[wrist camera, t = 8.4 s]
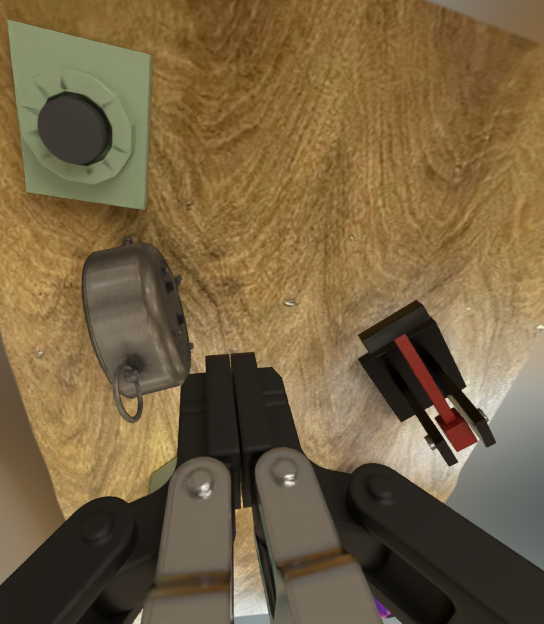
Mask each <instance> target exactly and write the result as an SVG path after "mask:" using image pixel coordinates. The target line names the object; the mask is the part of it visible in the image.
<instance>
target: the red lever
mask: <svg viewBox="0 0 544 624" xmlns="http://www.w3.org/2000/svg"><path fill="white" fill-rule="evenodd" d="M429 319H430V316H429V314H428V313H427V311H426V309H425V307H424V306H423V305H422V304H421V303H420V302H418V301H417V300H415V301H414V302H412V303H410V304H409V305H407V306H405V307H404V308H402V309H400V310H399V311H397V312H395V313H394V314H392V315H390V316H389V317H387V318H385V319H384V320H382V321H380V322H379V323H377V324H375V325H374V326H372V327H370V328H369V329H367V330H365V331H364V332H362V333H360V334H359V335H358V336H359V338H360V340H361V341H362V343H363V344H364V346H365V347H366V349H367V350H368V352H369V354H371V353H373V352H375V351H376V350H378V349H380V348H381V347H383V346H385V345H387V344H388V343H390V342H392V341H393V340H394V342H395V343H396V345H397V347H398V348H399V350H400V351H401V353H402V355H403V356H404V358H405V360H406V361H407V363H408V364H409V366H410V368H411V369H412V371H413V373H414V374H415V376H416V377H417V379H418V381H419V382H420V384H421V385H422V387H423V389H424V390H425V392H426V394H427V395H428V397H429V398H430V400H431V402H432V403H433V405H434V407H435V408H436V410H437V411H438V413H439V415H438V416H436V417H435V420H436V421H437V423H438V425H439V426H440V428H441V429H442V431H443V433H444V434H445V436H446V437H447V439H448V440H449V441H450V443H451V444H452V446H453V447H454V449H455V450H456V451H457V452H458V451H460V450H462V449H464V448H466V447H468V446H470V445H472V444H474V443H476V442H478V441H477V439H476V437H475V435H474V434H473V432H472V430H471V429H470V427H469V425H468V424H467V422H466V421H465V419H464V418H463V417H462V416H461V415H460V413H459V412H458V411H457V410H456V409H455V408H454V407H453V408H451V409H450V407H449V405H448V404H447V402H446V400H445V399H444V397H443V395H442V394H441V392H440V390H439V389H438V387H437V385H436V384H435V382H434V380H433V379H432V377H431V375H430V374H429V372H428V371H427V369H426V367H425V366H424V364H423V362H422V361H421V359H420V357H419V356H418V354H417V352H416V351H415V349H414V347H413V346H412V344H411V342H410V341H409V339H408V337H407V336H406V334H405V333H407V332H409V331H410V330H412V329H414V328H416V327H417V326H419V325H421V324H422V323H424V322H426V321H427V320H429Z"/></svg>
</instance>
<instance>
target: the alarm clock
mask: <svg viewBox="0 0 544 624" xmlns="http://www.w3.org/2000/svg"><path fill="white" fill-rule="evenodd" d="M124 242H125V246H121V247H116V248H111V249H107V250H102V251H97V252H93V253H92V254H90V255H89V256H88V258H87V260H86V261H85V263H84V266H83V271H82V301H83V308H84V313H85V319H86V323H87V327H88V332H89V336H90V339H91V343H92V346H93V349H94V352H95V354H96V357H97V359H98V361H99V363H100V366H101V368H102V370H103V372H104V373H105V375H106V377H107V378H108V380H109V382H110V383H111V384H112V386H113V395H114V400H115V403H116V406H117V408H118V410H119V412H120V414H121V416H122V417H123V418H124V419H125V420H126V421H127V422H129V423H135V422H137V421H138V420H139V419H140V417H141V414H142V408H143V398H142V395H145V394H149V393H153V392H157V391H161V390H165V389H169V388H172V387H176V386H179V385H181V384H182V383H183V382H184V381H185V379H186V378H187V376H188V374H189V372H190V367H191V351H190V349H193V347H194V345H193V343H190V342H189V336H188V331H187V326H186V321H185V317H184V313H183V309H182V305H181V301H180V297H179V294H178V288H177V287H178V285H179V283H180V282H181V280H182V277H181V275H178V276H177V277H176V278H175V279H173V276H172V273H171V271H170V268H169V266H168V264H167V262H166V260H165V258H164V257H163V255H162V254H161V253H160V251H159V250H158V249H157V248H156V247H154V246H153V245H151V244H148V243H145V242H140V243H135V244H131V242H132V238H131V237H129V236H126V237H124ZM120 394H121V395H123V396H124V397H126V398H130V399H132V398H135V397H137V399H138V410H137V414H136V415H135V416H134V417H131V416H130V415H129V414H128V413H127V412H126V411H125V409H124V407H123V405H122V401H121V397H120Z"/></svg>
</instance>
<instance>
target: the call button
mask: <svg viewBox="0 0 544 624" xmlns="http://www.w3.org/2000/svg"><path fill="white" fill-rule="evenodd" d="M37 124H38V132H39V135H40V137H41V140H42V142H43V143H44V145H45V146H46V148H47V149H48V150H49V151H50V152H51V153H52V154H53V155H54V156H56V157H57V158H59V159H60V160H62V161H65V162H67V163H71V164H85V163H88V162H90V161H92V160H93V159H95V158H96V157H98V156H99V155H101V154H102V153H103V152H104V150H105V149H106V147H107V144H108V139H109V133H108V127H107V124H106V122H105V120H104V118H103V116H102V115H101V113H100V112H99V111H98V110H97V109H96V108H95V107H94V106H93V105H91V104H90V103H88V102H86V101H84V100H82V99H79V98H73V97H68V98H59V99H54V100H51V101H49V102H48V103H46V104H45V105H44V106H43V107H42V109H41V111H40V113H39V116H38V121H37Z"/></svg>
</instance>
